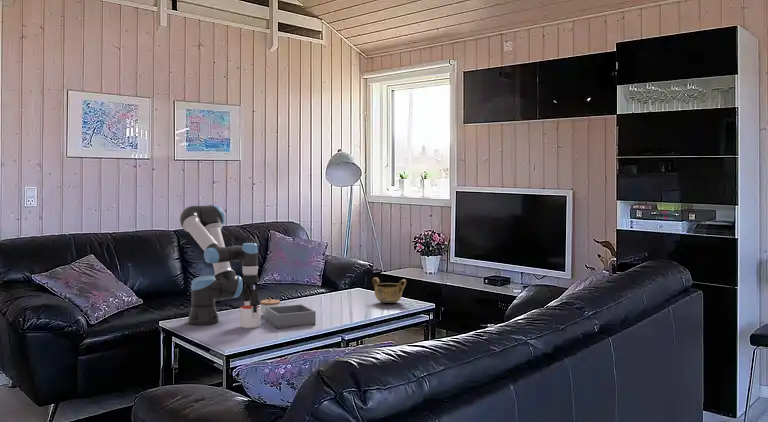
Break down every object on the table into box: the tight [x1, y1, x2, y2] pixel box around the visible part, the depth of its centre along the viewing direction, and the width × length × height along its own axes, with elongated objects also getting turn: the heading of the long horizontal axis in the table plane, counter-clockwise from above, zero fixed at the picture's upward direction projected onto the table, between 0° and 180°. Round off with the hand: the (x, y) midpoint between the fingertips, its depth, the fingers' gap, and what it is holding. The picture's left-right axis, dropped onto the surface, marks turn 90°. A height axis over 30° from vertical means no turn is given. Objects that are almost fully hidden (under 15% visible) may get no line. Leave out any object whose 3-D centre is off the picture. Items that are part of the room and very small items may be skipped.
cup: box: [239, 304, 261, 330], centre depth 328 cm, size 10×10×10 cm
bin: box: [265, 303, 317, 330], centre depth 338 cm, size 20×20×7 cm
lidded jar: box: [259, 297, 281, 317], centre depth 355 cm, size 11×11×9 cm
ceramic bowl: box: [371, 277, 407, 304], centre depth 391 cm, size 22×17×15 cm
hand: (250, 316), depth 328 cm, fingers open, 13 cm apart
